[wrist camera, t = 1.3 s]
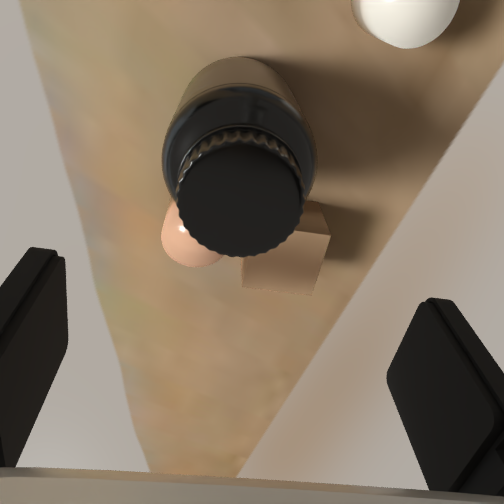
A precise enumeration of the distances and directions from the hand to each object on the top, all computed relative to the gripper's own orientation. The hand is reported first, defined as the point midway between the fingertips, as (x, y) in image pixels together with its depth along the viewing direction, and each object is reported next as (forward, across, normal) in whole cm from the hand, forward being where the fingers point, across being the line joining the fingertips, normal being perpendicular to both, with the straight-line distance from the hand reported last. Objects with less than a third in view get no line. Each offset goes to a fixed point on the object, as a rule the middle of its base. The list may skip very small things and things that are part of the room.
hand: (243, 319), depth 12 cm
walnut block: (+18, -4, +6) cm, 19 cm away
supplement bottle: (+18, 0, -1) cm, 18 cm away
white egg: (+17, -7, -8) cm, 20 cm away
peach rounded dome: (+18, +2, +6) cm, 19 cm away
